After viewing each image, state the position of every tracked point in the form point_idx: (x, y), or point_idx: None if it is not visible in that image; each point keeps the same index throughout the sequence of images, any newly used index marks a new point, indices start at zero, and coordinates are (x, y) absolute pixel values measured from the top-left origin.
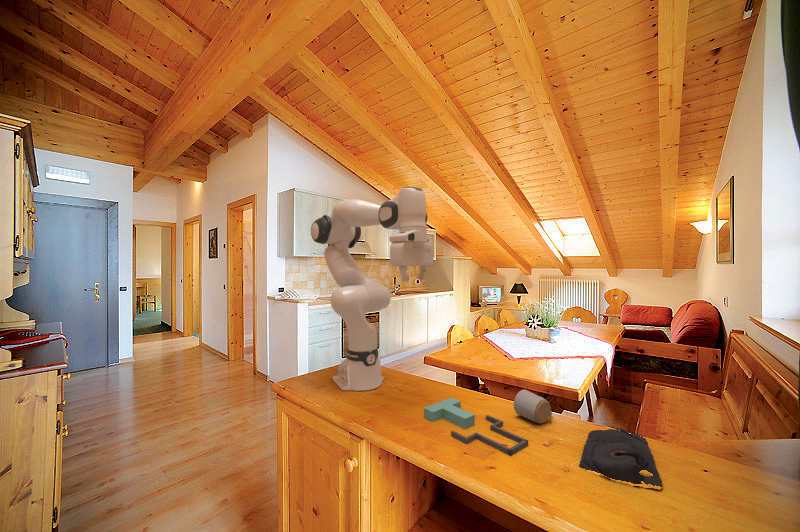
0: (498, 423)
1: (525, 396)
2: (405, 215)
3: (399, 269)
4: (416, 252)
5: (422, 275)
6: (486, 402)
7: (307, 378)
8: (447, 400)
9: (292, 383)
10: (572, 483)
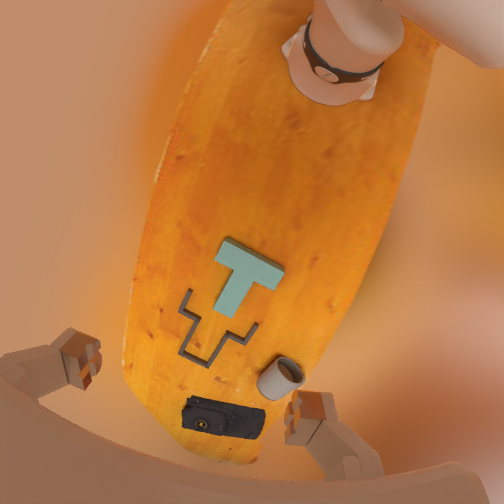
0: (236, 341)
1: (274, 383)
2: None
3: (2, 360)
4: None
5: (285, 437)
6: (318, 313)
7: None
8: (270, 269)
9: None
10: (165, 387)
